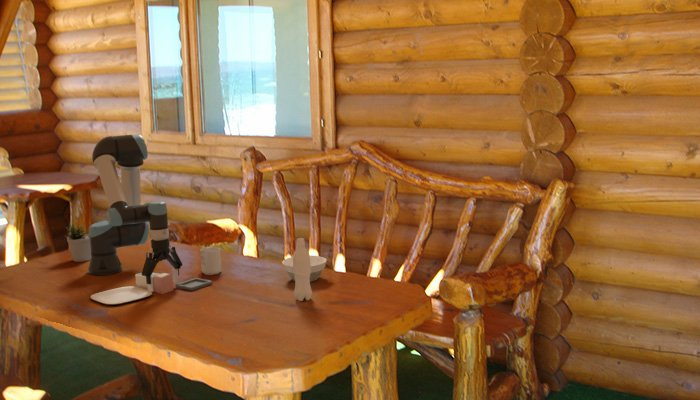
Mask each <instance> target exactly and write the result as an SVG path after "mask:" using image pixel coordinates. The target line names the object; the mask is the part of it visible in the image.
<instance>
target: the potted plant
mask: <svg viewBox="0 0 700 400" xmlns="http://www.w3.org/2000/svg"><path fill="white" fill-rule="evenodd" d="M79 225H80V224H78V225H77V227H76V226H75V224H74V222H72V223H71V224H70V223H68V225H67V226H65V228H66V229H67V231H68V232H67V234H68V236H66V235H64V237H65V238H66V241H67V244H68V247H69V250H70V251H69V252H70V255H71V258H72V261H73V262H75V263H83V262H89V261H90V259H91V250H90V239H89V228H86V226H85V224H82V225H81V226H79Z"/></svg>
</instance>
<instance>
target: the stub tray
mask: <svg viewBox="0 0 700 400" xmlns="http://www.w3.org/2000/svg"><path fill="white" fill-rule="evenodd" d="M174 284H175V283H174ZM211 285H213V280H210V279H205V278H204V279H203V278H199V277H195V278H194V277H193V278H191V279H188V280H185V281H183V282H179V284H175V289H178V290H179V289H180V290H185V291H189V292H192V291H193V292H194V291H196V290H200V289H202V288H206V287H208V286H211Z"/></svg>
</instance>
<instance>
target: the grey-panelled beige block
mask: <svg viewBox="0 0 700 400" xmlns="http://www.w3.org/2000/svg"><path fill="white" fill-rule="evenodd" d="M141 274H142V272H140V273H136V274H135V287H139V288H142V289H145V290H148V284H147V283H146V276H142V275H141ZM159 274H160V273H158V272H157V273H156V272H153V273H152V275H151V276H156V275H159ZM153 285H154V278H153ZM154 292H155V290H154Z"/></svg>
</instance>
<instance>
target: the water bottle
mask: <svg viewBox="0 0 700 400" xmlns="http://www.w3.org/2000/svg"><path fill="white" fill-rule="evenodd" d="M305 245H306V241H305V238H303V237H298V238H296V249H295V250H294V253H293V256H292V257H293V273H294V276H295V281H294V282H295V283H294V285H295V286H294V291H293V295H294V298H295V300H296V301H298V302H303V301H304V299H305V301H306V302H307V301H310V300H311V298H312V294H313V291H312V287H311V282H310V273H311V269H310V256H311V255H310V253H309V252H308V250H307V249H306V246H305Z"/></svg>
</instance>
